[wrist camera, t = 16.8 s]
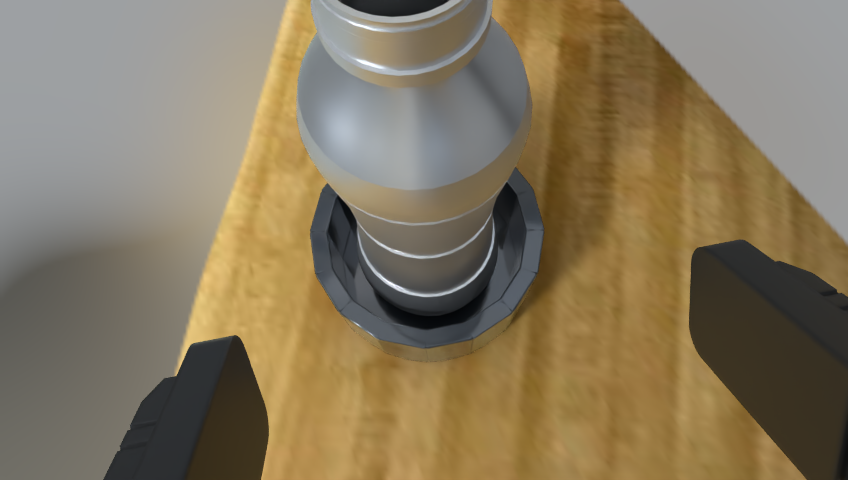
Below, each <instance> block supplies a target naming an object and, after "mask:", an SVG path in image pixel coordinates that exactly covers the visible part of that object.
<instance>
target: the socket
mask: <svg viewBox="0 0 848 480" xmlns="http://www.w3.org/2000/svg"><path fill="white" fill-rule="evenodd" d="M493 219H494V222H495V226H496V233H497V241H498V256H497V262H496V266H495V269H494V273H493V275H492V277H491V278H490V280H489V282H488V284H487V286H486V287H485V288H484V289H483V290H482V291H481V293H480V294H479V295H478V296H477V297H476V298H474V299H473V300H472V301H470V302H469V303H468V304H467V305H465V306H464V307H462V308H460V309H458V310H456V311H453V312H451V313H447V314H443V315H437V316H423V315H417V314H412V313H410V312H407V311H404V310H401V309H399V308H397V307H396V306H394V305H392V304H391V303H389V302H387V301H386V300H385V299H383V298H382V297H381V296H380V295H379V294H378V293H377V292H376V291H375V290H374V289H373V288H372V286H371V285H370V284H369V282H368V281H367V279H366V277H365V275H364V273H363V271H362V269H361V266H360V262H359V258H358V253H357V233H356V231H357V221H356V218H355V217H354V215H353V213H352V211H351V209H350V208H349V206H348V205H347V204H346V203H345V202H344V201H343V200H342V199H341V197H340V196H339V195H338V194H337V193H336V192H335V191H334V190H333V189H332V188H331V186H330V185H329V184H328V183H327V184H326V185H325V187H324V188H323V189H322V192H321V194H320V198H319V201H318V205H317V208H316V212H315V215H314V219H313V222H312V226H311V229H310V239H311V246H312V253H313V261H314V268H315V274H316V277H317V279H318V280H319V282H320V283H321V285H322V287H323V288H324V290H325V291H326V293H327V295H328V296H329V298H330V300H331V301H332V303H333V304H334V306H335V308H336V309H337V311H338V312H339V313H340V315H341V316H342V317H343V318H344V320H345V321H346V322H347V323H348V325H349V326H350V327H351V328H352V329H353V330H354V332H356V333H357V334H359V335H360V336H362V337H363V338H364V339H366V340H367V341H368V342H369V343H371V344H372V345H374V346H376V347H377V348H379V349H381V350H382V351H383V352H385V353H387V354H390V355H394V356H397V357H401V358H404V359H408V360H415V361H424V362H432V361H443V360H450V359H454V358H458V357H461V356H464V355H468V354H471V353H473V352H474V351H476V350H478V349H479V348H481V347H483V346H485V345H486V344H488V343H489V342H490V341H492V340H493V339H494V338H496V337H497V336H498V335H499V334H501V333H502V332H504V331H505V329H506V328H507V327H508V325H509V324H510V322H511V321H512V319H513V318H514V316H515V315H516V313H517V311H518V310H519V308H520V306H521V305H522V303H523V302H524V300H525V299H526V297H527V295H528V293H529V291H530V289H531V287H532V285H533V283H534V281H535V279H536V277H537V274H538V271H539V265H540V258H541V251H542V245H543V238H544V226H543V222H542V219H541V215H540V212H539V208H538V204H537V201H536V197H535V194H534V190H533V188H532V187H531V185H530V184H529V183H528V182H527V180H526V179H525V178H524V177H523V175H522V174H521V173H520V172H519V170H518V169H517V168H516V167H515V168H514V170H513V172H512V174H511V175H510V177H509V179H508V180H507V182H506V183H505V185H504V187H503V188H502V190H501V191H500V193H499V195H498V196H497V198H496V201H495V204H494V207H493Z"/></svg>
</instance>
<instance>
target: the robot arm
mask: <svg viewBox="0 0 848 480" xmlns="http://www.w3.org/2000/svg"><path fill="white" fill-rule="evenodd" d="M689 328H690V334H691V338H692V341H693V344H694V346H695V348H696V350H697V352H698V354H699V355H700V357H701V358H702V359H703V360H704V362H705V363H706V364H707V365H708V366H709V367H710V368H711V370H712V371H713V372H714V373H715V374H716V375H717V377H718V378H719V379H720V380H721V381H722V382H723V383H724V385H725V386H726V387H727V388H728V389H729V390H730V392H731V393H732V394H733V395H734V396H735V397H736V398H737V400H738V401H739V402H740V403H741V404H742V405H743V406H744V408H745V409H746V410H747V411H748V412H749V413H750V415H751V416H752V417H753V418H754V419H755V420H756V421H757V423H758V424H759V425H760V426H761V427H762V428H763V429H764V431H765V432H766V433H767V434H768V435H769V436H770V438H771V439H772V440H773V441H774V442H775V443H776V444H777V446H778V447H779V448H780V449H781V450H782V451H783V452H784V454H785V455H786V456H787V457H788V458H789V459H790V461H791V462H792V463H793V464H794V465H795V466H796V467H797V469H798V470H799V471H800V472H801V473H802V474H803V475H804V477H805V478H806V479H807V480H848V297H847V296H845V295H844V294H842V293H839V294H838V293H837V289H835V288H834V287H832V286H831V285H829V284H828V283H826V282H825V281H823V280H822V279H820V278H819V277H818V276H816V275H815V274H813V273H811V272H808V271H806V270H803V269H800V268H798V267H795V266H792V265H789V264H787V263H784V262H781V261H777V262H775V261H774V260H772V259H771V258H769V257H768V256H767V255H765V254H764V253H762V252H761V251H760V250H758V249H757V248H755V247H754V246H753V245H751V244H750V243H748V242H747V241H745V240H735V241H730V242H725V243H719V244H714V245H709V246H704V247H699V248H697V249H696V250H695V251H694V253H693V255H692V261H691V284H690V310H689ZM130 428H131V429H130V430H128V431H127V433H126V435H125V437H124V439H123V441H122V443H121V445H120V449H121V450H120V451H118V452H117V453H116V455H115V457H114V459H113V461H112V463H111V465H110V467H109V469H108V471H107V473H106V476H105V477H104V479H103V480H261V476H262V471H263V466H264V460H265V455H266V450H267V444H268V437H269V425H268V416H267V411H266V407H265V403H264V400H263V398H262V395H261V392H260V389H259V386H258V384H257V381H256V378H255V375H254V372H253V369H252V367H251V364H250V361H249V358H248V355H247V352H246V350H245V347H244V344H243V342H242V341H241V339H240V338H239V337H238V336H236V335H234V336H229V337H224V338H219V339H213V340H208V341H203V342H198V343H193V344H192V345H191V346H190V347H189V349H188V351H187V353H186V356H185V358H184V360H183V363H182V365H181V367H180V369H179V372H178V374H177V376H175V377H170V378H165V379H163V380H162V381H161V382H160V384H158V385H157V387H155V389H154V390H153V391H152V392H151V393H150V394H149V395H148V396H147V397H146V398H145V399H144V400H143V401H142V402H141V404H140V406H139V408H138V411H137V412H136V414H135V416H134V419H133V421H132V423H131V425H130Z"/></svg>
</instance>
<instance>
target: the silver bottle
mask: <svg viewBox="0 0 848 480" xmlns="http://www.w3.org/2000/svg"><path fill="white" fill-rule="evenodd" d="M492 2H493V0H311V12H312V15H313V19H314V23H315V26H316V30H317V33H316V35H315V36H314V38H313V40H312V41H311V43H310V45H309V47H308V49H307V51H306V53H305V56H304V58H303V60H302V63H301V68H300V73H299V77H298V86H297V122H298V126H299V131H300V135H301V139H302V141H303V144H304V146H305V148H306V150H307V152H308V154H309V156H310V158H311V160H312V161H313V163H314V164H315V166H316V167H317V169H318V171H319V172H320V173H321V175H322V176H323V177H324V179H325V180H326V181H327V183H328V184H329V185H330V186H331V188H332V189H333V190H334V191H335V192H336V193H337V194H338V195H339V196H340V197H341V199H342V200H343V201H344V202H345V203H346V204H347V205H348V206H349V208H350V209H351V211H352V213H353V215H354V217H355V218H356V221H357V231H356V233H357V253H358V258H359V262H360V266H361V269H362V271H363V273H364V275H365V277H366V279H367V281H368V282H369V284H370V285H371V286H372V288H373V289H374V290H375V291H376V292H377V293H378V294H379V295H380V296H381V297H382V298H383V299H385V300H386V301H387V302H389V303H391V304H392V305H394V306H396V307H397V308H399V309H401V310H404V311H407V312H410V313H412V314H417V315H423V316H437V315H443V314H447V313H451V312H453V311H456V310H458V309H460V308H462V307H464V306H465V305H467V304H468V303H469V302H470V301H472V300H473V299H474V298H476V297H477V296H478V295H479V294H480V293H481V291H482V290H483V289H484V288H485V287H486V286H487V284H488V282H489V280H490V278H491V277H492V275H493V273H494V269H495V266H496V262H497V256H498V241H497V233H496V226H495V222H494V219H493V207H494V204H495V201H496V198H497V196H498V195H499V193H500V191H501V190H502V188H503V187H504V185H505V183H506V182H507V180H508V179H509V177H510V175H511V174H512V172H513V170H514V168H515V167H516V165H517V163H518V161H519V159H520V157H521V154H522V151H523V149H524V147H525V144H526V141H527V137H528V134H529V131H530V127H531V118H532V100H531V93H530V87H529V82H528V79H527V75H526V71H525V68H524V65H523V62H522V60H521V57H520V55H519V52H518V50H517V47H516V46H515V44H514V43H513V41H512V40H511V38H510V37H509V35H508V34H507V32H506V31H505V30H504V29H503V28H502V27H501V26H500V25H499V24H498V23H497V22H496V21H495V20H494V19H493V18H492V17H491V15H492Z"/></svg>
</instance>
